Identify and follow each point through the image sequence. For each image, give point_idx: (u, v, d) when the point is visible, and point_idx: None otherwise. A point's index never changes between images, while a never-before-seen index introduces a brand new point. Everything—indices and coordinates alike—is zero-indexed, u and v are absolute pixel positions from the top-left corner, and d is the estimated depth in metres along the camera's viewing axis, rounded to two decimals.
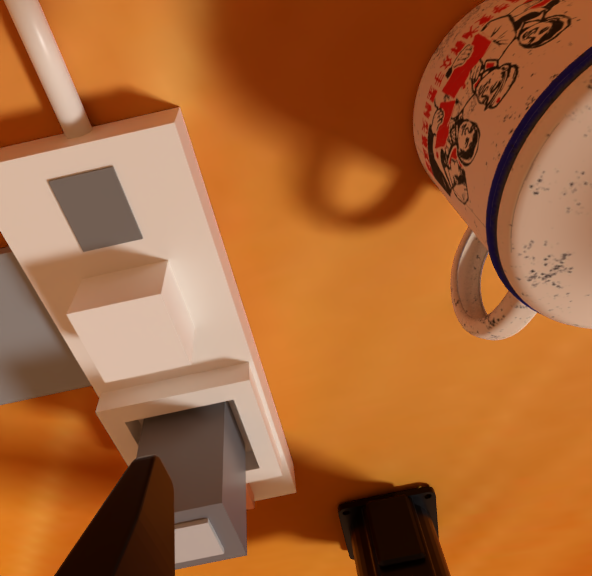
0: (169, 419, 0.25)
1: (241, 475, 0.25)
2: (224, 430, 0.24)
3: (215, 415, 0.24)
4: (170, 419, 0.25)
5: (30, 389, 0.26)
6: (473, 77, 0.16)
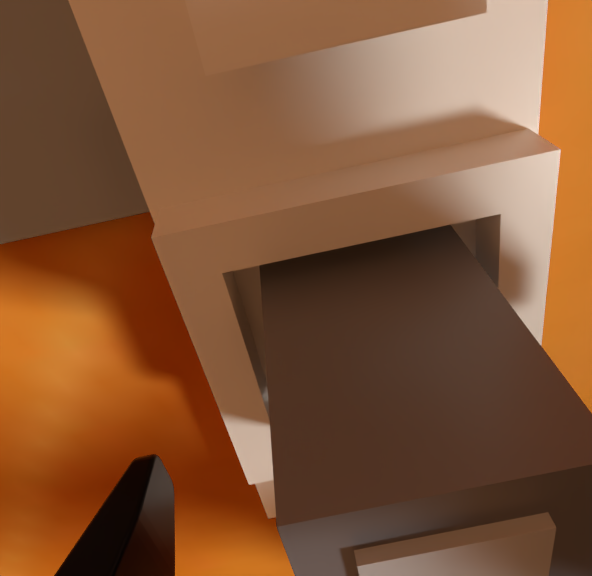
0: (328, 272, 0.10)
1: None
2: (492, 283, 0.09)
3: (449, 257, 0.10)
4: (330, 272, 0.10)
5: None
6: None
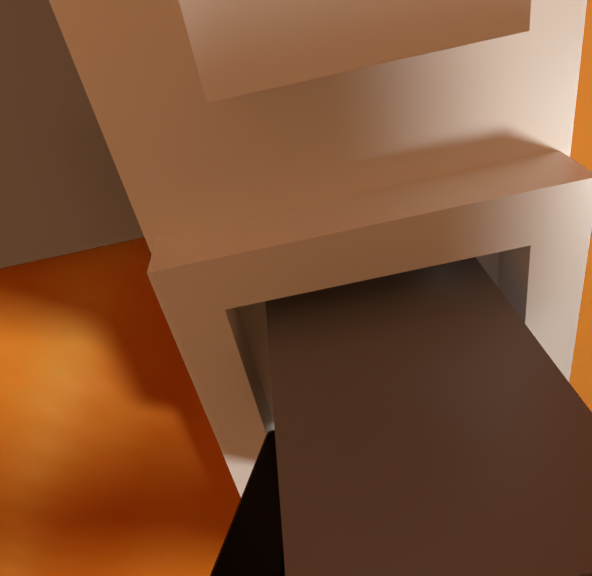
0: (341, 307, 0.09)
1: None
2: (522, 324, 0.08)
3: (473, 292, 0.09)
4: (342, 307, 0.09)
5: None
6: None
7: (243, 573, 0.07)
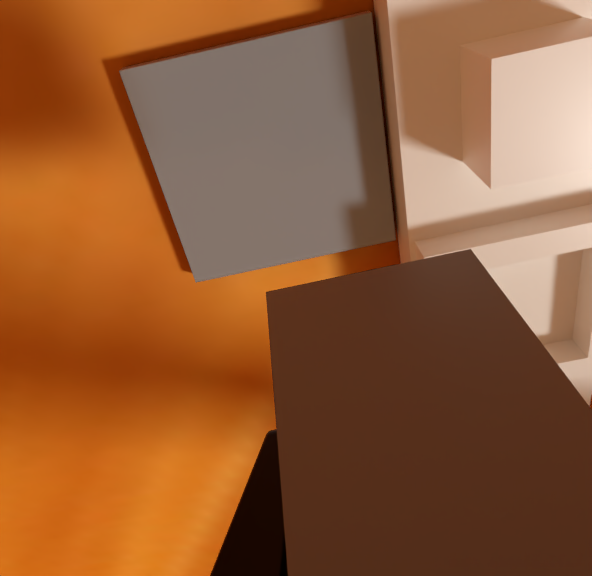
0: (343, 308, 0.09)
1: None
2: (526, 324, 0.08)
3: (475, 293, 0.09)
4: (344, 308, 0.09)
5: (303, 246, 0.20)
6: None
7: (243, 573, 0.07)
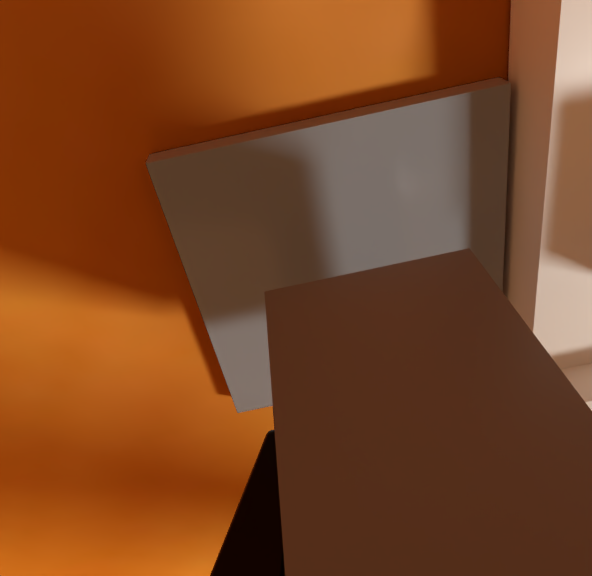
0: (341, 307, 0.09)
1: None
2: (524, 324, 0.08)
3: (474, 292, 0.09)
4: (342, 307, 0.09)
5: None
6: None
7: (243, 573, 0.07)
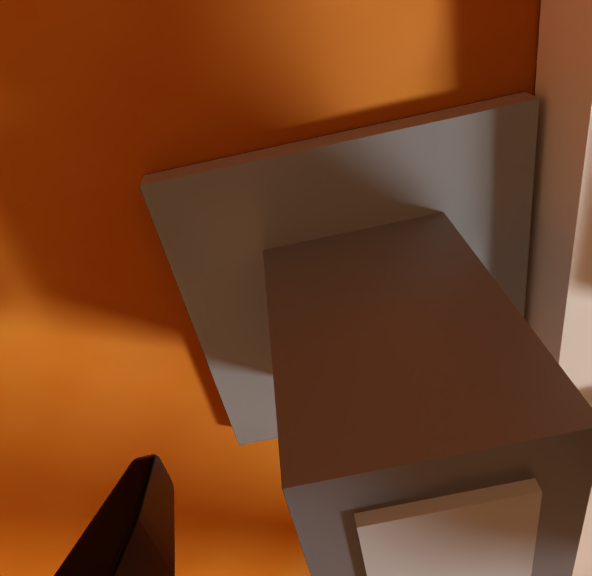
0: (330, 261, 0.11)
1: None
2: (485, 270, 0.09)
3: (444, 246, 0.10)
4: (331, 261, 0.11)
5: None
6: None
7: None
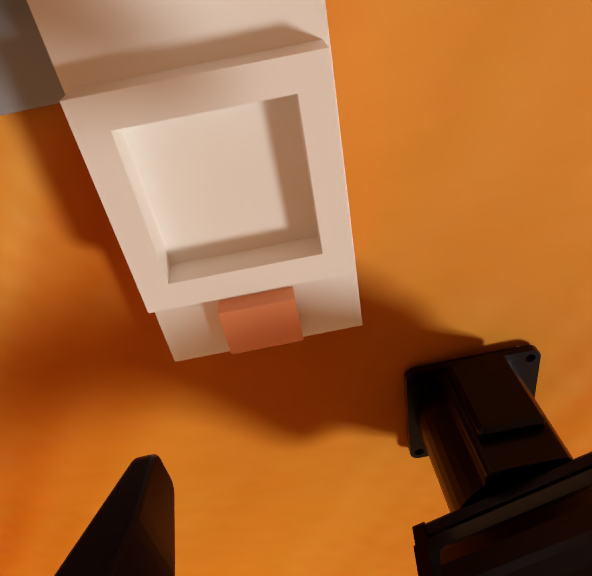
0: None
1: None
2: None
3: None
4: None
5: None
6: None
7: None
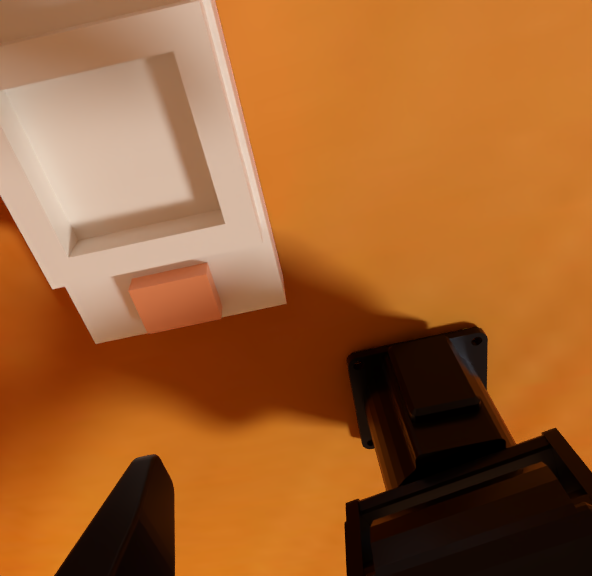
0: None
1: None
2: None
3: None
4: None
5: None
6: None
7: None
